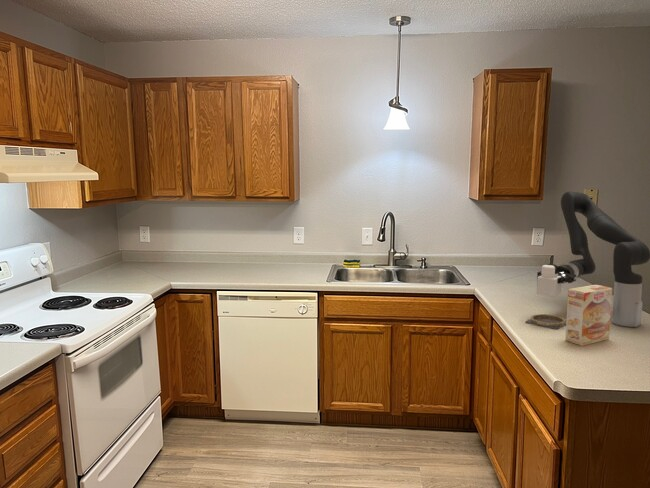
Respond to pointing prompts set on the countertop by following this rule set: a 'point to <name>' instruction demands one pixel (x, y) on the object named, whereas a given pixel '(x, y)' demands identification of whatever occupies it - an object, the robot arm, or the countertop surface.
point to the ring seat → (547, 321)
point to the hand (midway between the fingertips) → (548, 279)
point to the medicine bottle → (549, 281)
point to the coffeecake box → (588, 314)
